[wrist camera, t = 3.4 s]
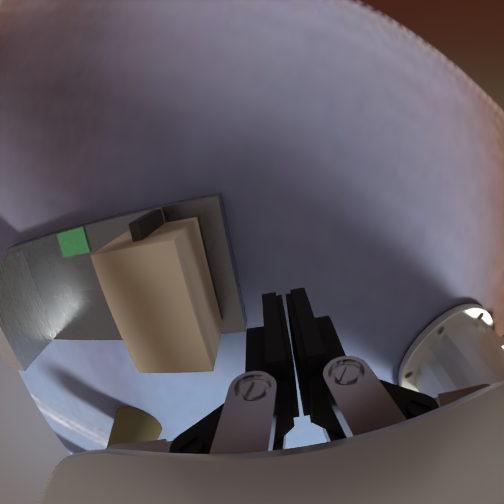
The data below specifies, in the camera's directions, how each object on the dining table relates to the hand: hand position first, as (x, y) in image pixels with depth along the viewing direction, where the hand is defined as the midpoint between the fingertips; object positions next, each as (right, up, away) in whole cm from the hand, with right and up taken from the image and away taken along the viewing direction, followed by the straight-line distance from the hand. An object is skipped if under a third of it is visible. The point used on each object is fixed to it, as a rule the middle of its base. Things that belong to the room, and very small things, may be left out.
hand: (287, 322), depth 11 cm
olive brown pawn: (-15, -18, +17) cm, 29 cm away
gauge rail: (-14, 0, +10) cm, 17 cm away
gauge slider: (-7, +1, +8) cm, 10 cm away
